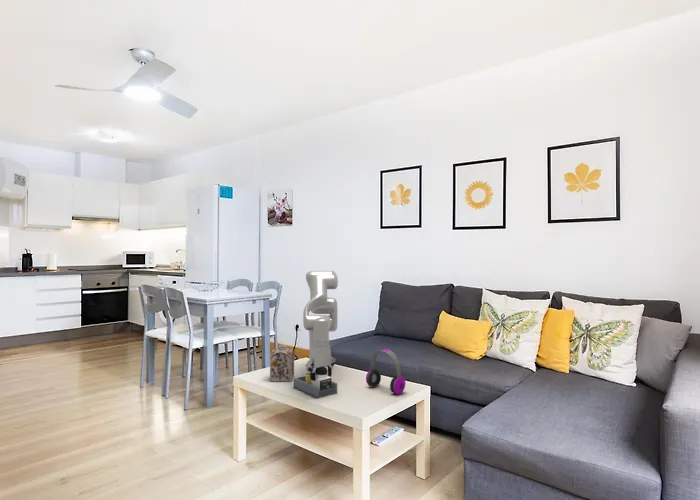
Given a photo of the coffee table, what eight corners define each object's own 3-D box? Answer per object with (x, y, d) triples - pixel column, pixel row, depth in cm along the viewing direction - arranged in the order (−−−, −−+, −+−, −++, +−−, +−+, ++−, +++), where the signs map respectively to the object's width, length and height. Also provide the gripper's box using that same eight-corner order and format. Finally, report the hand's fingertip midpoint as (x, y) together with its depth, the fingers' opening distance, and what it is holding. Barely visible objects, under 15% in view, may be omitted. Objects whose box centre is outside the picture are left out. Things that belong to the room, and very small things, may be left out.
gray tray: (293, 387, 218) (293, 378, 218) (313, 383, 225) (313, 373, 225) (316, 398, 201) (316, 387, 201) (337, 393, 209) (337, 383, 209)
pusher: (301, 387, 214) (301, 373, 215) (316, 383, 220) (316, 370, 220) (307, 389, 210) (307, 375, 210) (322, 386, 216) (322, 372, 216)
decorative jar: (291, 382, 228) (291, 348, 228) (269, 381, 228) (269, 348, 228) (294, 375, 240) (294, 343, 240) (274, 375, 240) (274, 343, 240)
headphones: (364, 387, 218) (364, 348, 219) (375, 383, 225) (375, 345, 225) (395, 397, 204) (395, 354, 204) (407, 392, 210) (407, 351, 210)
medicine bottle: (319, 394, 204) (320, 369, 204) (311, 390, 209) (311, 366, 209) (331, 391, 208) (331, 367, 208) (322, 387, 214) (323, 363, 214)
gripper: (330, 339, 218) (330, 373, 218) (302, 344, 207) (302, 379, 207) (339, 342, 212) (339, 376, 212) (310, 347, 201) (310, 383, 201)
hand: (321, 378), depth 209 cm, fingers open, 9 cm apart
